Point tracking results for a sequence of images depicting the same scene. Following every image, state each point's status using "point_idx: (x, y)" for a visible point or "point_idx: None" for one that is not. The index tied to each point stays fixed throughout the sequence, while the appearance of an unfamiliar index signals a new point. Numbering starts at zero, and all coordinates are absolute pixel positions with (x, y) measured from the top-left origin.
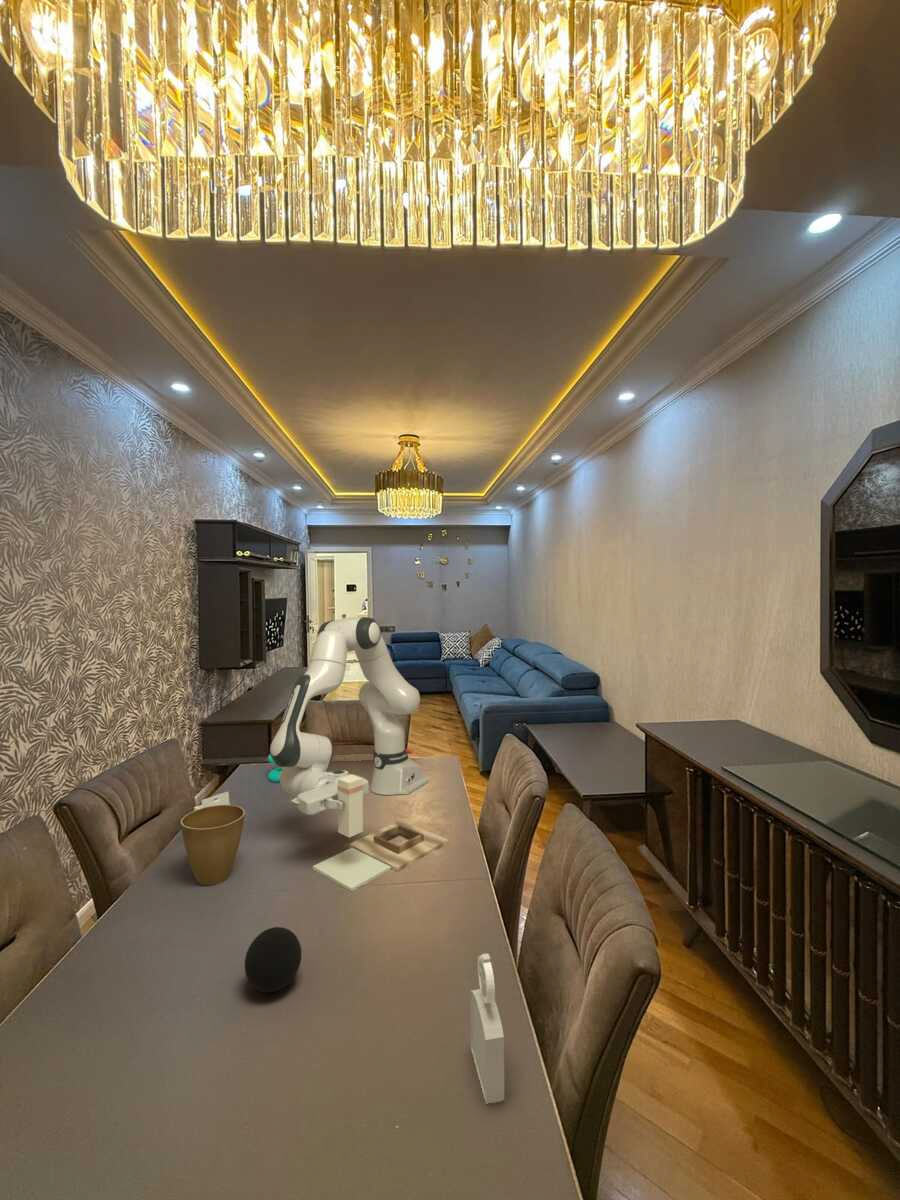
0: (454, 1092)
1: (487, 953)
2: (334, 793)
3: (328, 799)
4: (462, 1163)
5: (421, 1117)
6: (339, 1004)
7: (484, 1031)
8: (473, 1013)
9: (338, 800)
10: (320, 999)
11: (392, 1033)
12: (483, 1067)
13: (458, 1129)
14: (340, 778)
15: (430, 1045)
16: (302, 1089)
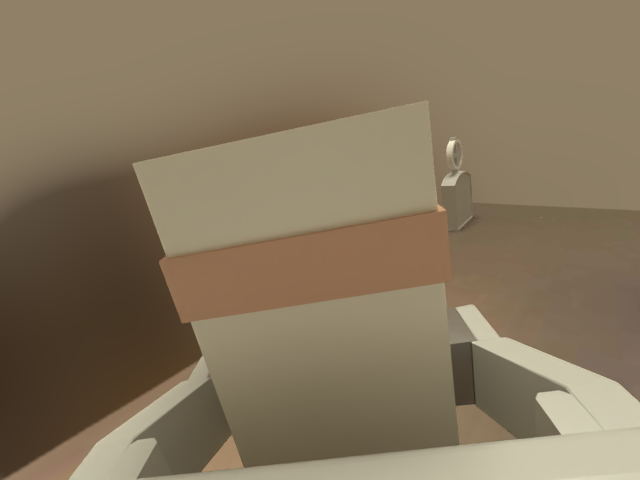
0: (489, 221)
1: (450, 138)
2: (478, 448)
3: (631, 418)
4: (505, 208)
5: (520, 218)
6: (582, 272)
7: (469, 173)
8: (457, 197)
9: (453, 399)
10: (615, 282)
11: (520, 245)
12: (468, 203)
13: (498, 213)
14: (374, 112)
15: (488, 236)
16: (634, 235)
